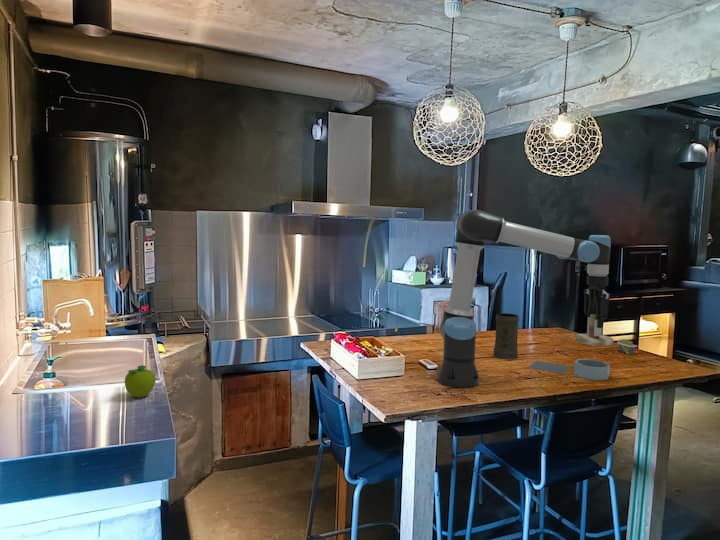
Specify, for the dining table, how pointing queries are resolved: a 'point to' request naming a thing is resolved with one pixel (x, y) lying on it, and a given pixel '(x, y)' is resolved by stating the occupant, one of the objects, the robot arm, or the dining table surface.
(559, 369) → the mat
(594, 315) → the lid
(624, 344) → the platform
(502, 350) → the beer stein
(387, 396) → the dining table surface
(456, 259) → the robot arm
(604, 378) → the bowl
